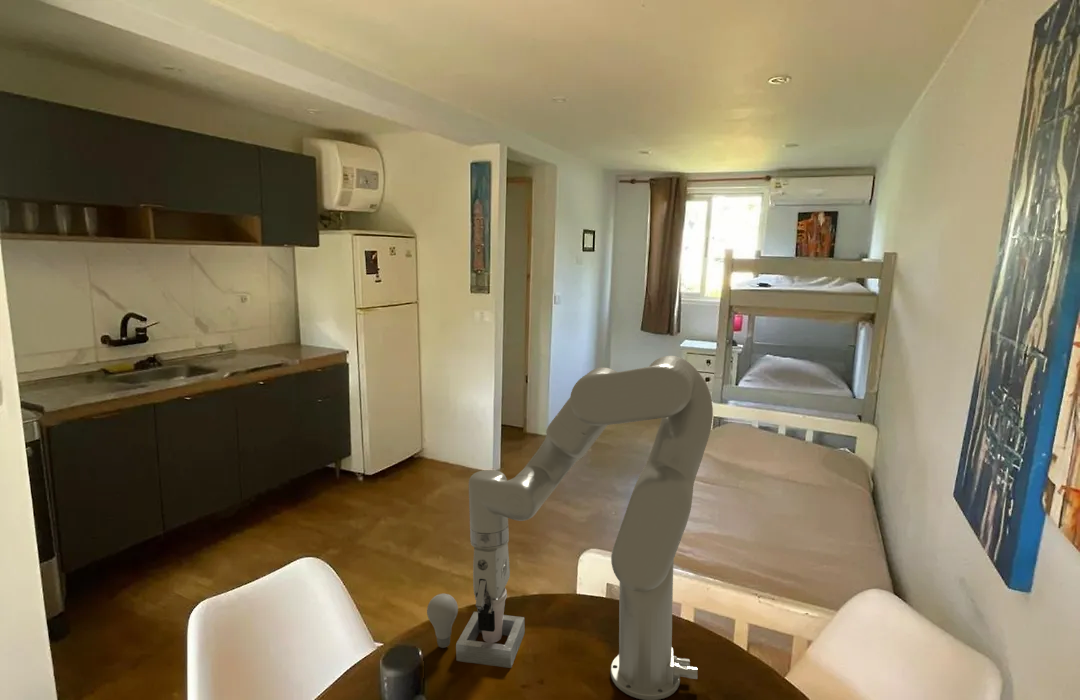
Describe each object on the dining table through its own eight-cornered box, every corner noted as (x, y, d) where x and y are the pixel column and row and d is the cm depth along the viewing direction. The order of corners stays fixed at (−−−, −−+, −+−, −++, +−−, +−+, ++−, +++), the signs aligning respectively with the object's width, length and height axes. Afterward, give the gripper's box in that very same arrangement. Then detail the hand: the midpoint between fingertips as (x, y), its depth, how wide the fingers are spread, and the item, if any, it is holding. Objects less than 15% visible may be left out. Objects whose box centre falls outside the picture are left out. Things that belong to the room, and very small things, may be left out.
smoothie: (485, 624, 117) (483, 561, 115) (513, 631, 114) (511, 566, 113) (470, 643, 111) (468, 576, 109) (499, 650, 109) (497, 582, 107)
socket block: (524, 632, 117) (524, 617, 117) (511, 668, 106) (510, 651, 106) (474, 626, 119) (474, 611, 119) (456, 660, 109) (455, 644, 108)
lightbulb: (452, 658, 109) (451, 605, 108) (423, 654, 111) (421, 602, 109) (463, 639, 115) (461, 589, 114) (435, 635, 117) (433, 586, 115)
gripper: (495, 556, 101) (497, 649, 103) (518, 517, 118) (520, 597, 120) (455, 553, 103) (459, 644, 105) (484, 515, 119) (487, 594, 121)
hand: (492, 618), depth 112 cm, fingers closed on smoothie, 6 cm apart
